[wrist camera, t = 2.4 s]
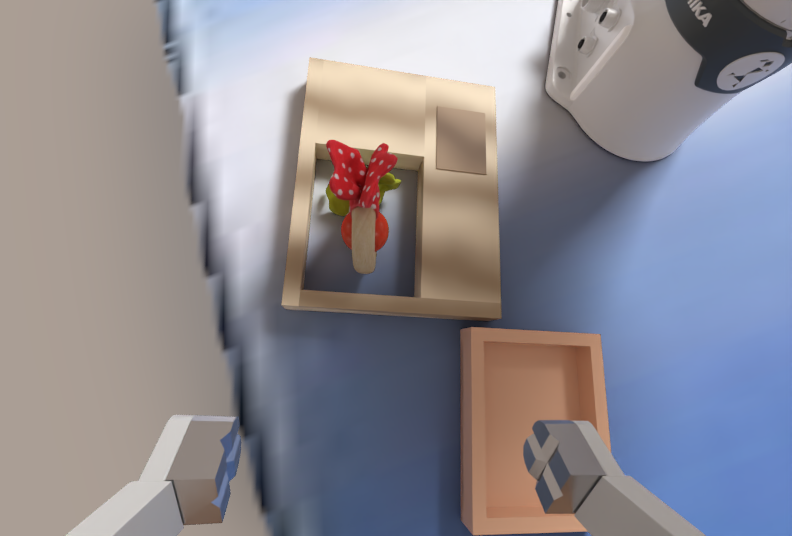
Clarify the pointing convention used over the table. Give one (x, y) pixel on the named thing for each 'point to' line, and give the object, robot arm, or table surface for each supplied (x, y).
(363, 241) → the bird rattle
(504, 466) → the terracotta tray
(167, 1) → the table surface
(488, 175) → the puzzle board
